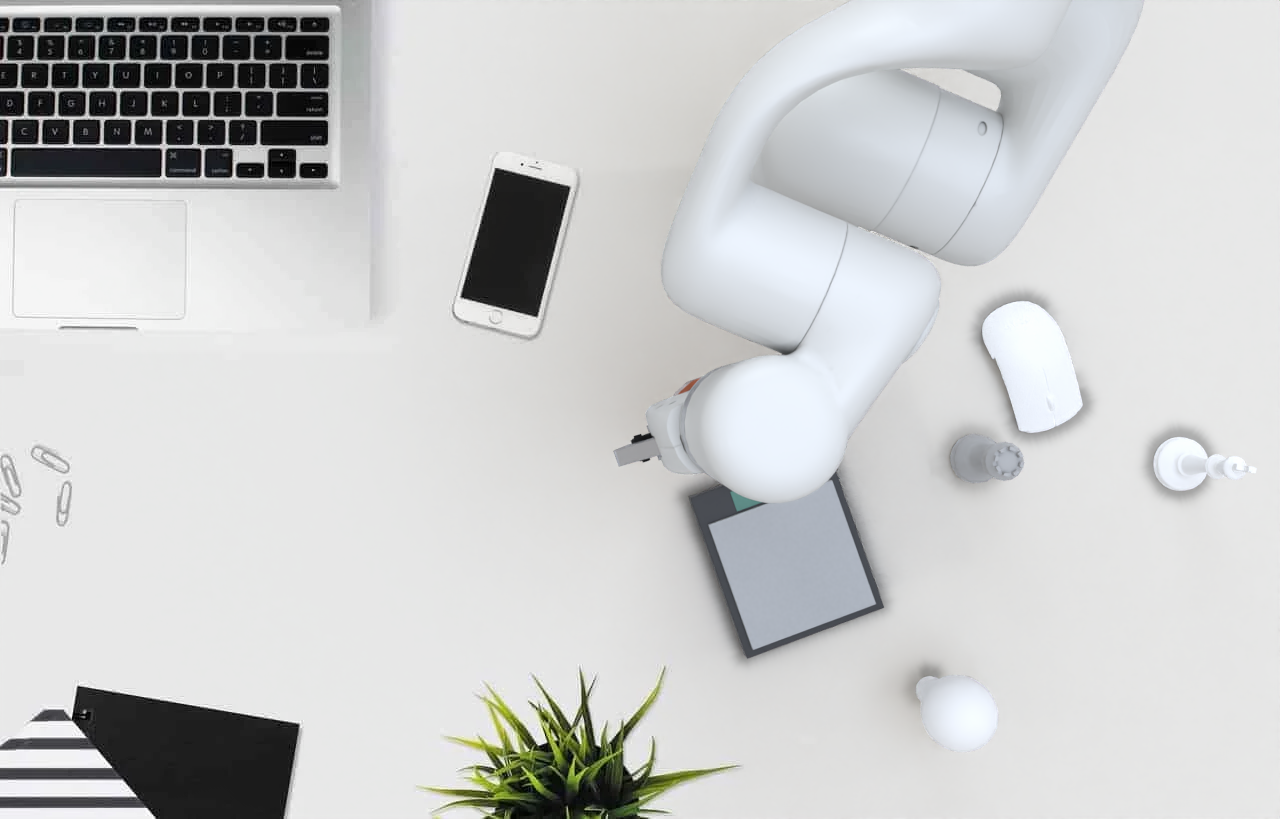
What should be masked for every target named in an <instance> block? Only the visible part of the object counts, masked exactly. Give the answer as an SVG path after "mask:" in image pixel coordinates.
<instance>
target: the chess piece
mask: <svg viewBox="0 0 1280 819" xmlns="http://www.w3.org/2000/svg"><path fill="white" fill-rule="evenodd" d="M1152 466H1153V472H1154V475H1155V477H1156V479H1157V480H1158V482H1159V483H1160V484H1162V485H1163V486H1164V487H1165V488H1167V489H1169V490H1172V491H1175V492H1182V491H1190V490H1192V489H1195V488H1196V487H1198V486H1200V485H1201V484H1202V482H1204V480H1205V479H1206V477H1207V476H1209V477H1210V478H1211V479H1212V480H1213V479H1214V480H1221V479H1223V478H1227V479H1229V480H1232V481H1238V480H1242V478H1244V477H1245V475H1246V473H1249V474H1256V473H1257V467H1255V466H1251V465H1247V463H1246V461H1245V459H1244V458H1242V457H1241V456H1238V455H1231V456H1229V457H1225V456H1224V455H1222V454H1219V453H1217V454H1212V455H1210V456H1209V457H1208V454H1207V452H1206V450H1205V449H1204V446H1202V445H1201V444H1200V443H1198V442H1197V441H1196V440H1194V439H1191V438H1188V437H1183V436H1176V437H1175V436H1174V437H1171V438H1169V439H1167V440H1165V441H1163V442H1162V443H1161V444H1160V445H1159V446H1158V447H1157V449H1156V451H1155V453H1154V456H1153V461H1152Z"/></svg>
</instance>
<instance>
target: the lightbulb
mask: <svg viewBox="0 0 1280 819" xmlns="http://www.w3.org/2000/svg"><path fill="white" fill-rule="evenodd" d="M915 695H916V697H917V699H918V700H919V701H920V718H921V722H922V725H923V727H924V730H925V731H926V733H927V734H928V736H929V737H930V738H931V739H932V741H934V742H935V743H936V744H937V745H939V746H940V747H942V748H944V749H946V750H948V751H950V752H955V753H970V752H975V751H978V750H981V749H982V748H983V747H985V746H986V745H987V744H988V743H989V742H990V741H991V740H992V739H993V737H994V736H995V734H996V731H997V729H998V725H999V715H1000V714H999V709H998V704H997V702H996V700H995V698H994V696H993V695H992V693H991V691H990V690H989V689H988V688H987V687H986V685H984V684H983V683H982V682H980V681H978V680H977V679H975V678H973V677H971V676H968V675H964V674H949V675H944V676H942V677H940V678H938V677H936V676H932V675H927V676H924V677H922V678H920V679H919V680H918V681H917V684H916V685H915Z"/></svg>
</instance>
